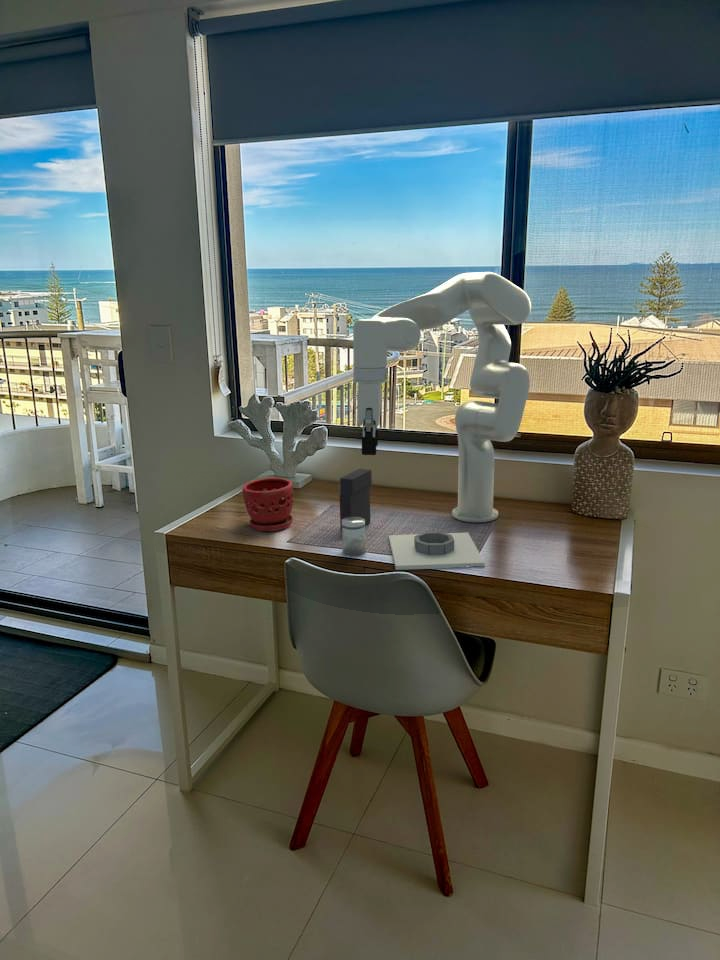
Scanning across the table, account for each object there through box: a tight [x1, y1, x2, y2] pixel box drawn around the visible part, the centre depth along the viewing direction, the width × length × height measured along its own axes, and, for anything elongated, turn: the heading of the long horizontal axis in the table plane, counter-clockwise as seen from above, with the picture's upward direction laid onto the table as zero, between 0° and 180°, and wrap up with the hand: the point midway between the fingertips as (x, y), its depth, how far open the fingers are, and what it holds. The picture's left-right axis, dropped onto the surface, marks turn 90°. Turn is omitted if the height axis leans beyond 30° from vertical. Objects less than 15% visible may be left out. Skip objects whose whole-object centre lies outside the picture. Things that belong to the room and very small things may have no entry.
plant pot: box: [242, 477, 294, 532], centre depth 182 cm, size 13×13×12 cm
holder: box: [388, 531, 486, 571], centre depth 162 cm, size 20×20×4 cm
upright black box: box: [339, 468, 373, 532], centre depth 178 cm, size 11×4×15 cm, turn 152°
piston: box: [341, 517, 366, 557], centre depth 163 cm, size 6×6×8 cm
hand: (370, 450), depth 157 cm, fingers open, 9 cm apart
